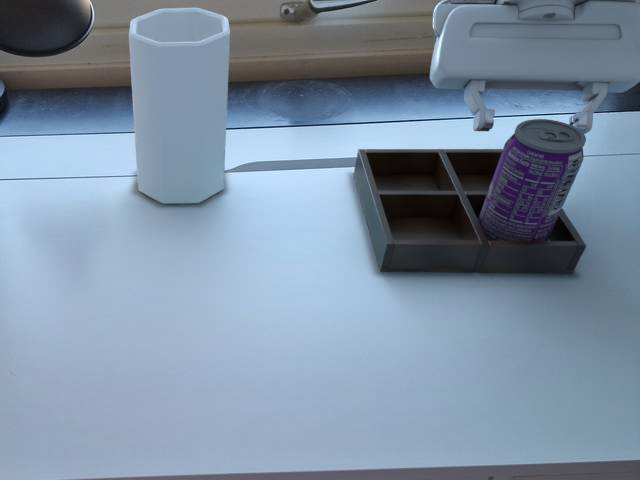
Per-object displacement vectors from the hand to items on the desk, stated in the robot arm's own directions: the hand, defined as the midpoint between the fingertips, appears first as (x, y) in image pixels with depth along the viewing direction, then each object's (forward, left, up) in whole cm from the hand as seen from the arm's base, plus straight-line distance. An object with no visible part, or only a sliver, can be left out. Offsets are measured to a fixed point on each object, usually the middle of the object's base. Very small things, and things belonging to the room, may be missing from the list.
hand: (531, 131), depth 70 cm
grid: (+5, 0, -11) cm, 12 cm away
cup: (+36, -8, -11) cm, 38 cm away
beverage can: (+1, +5, -10) cm, 11 cm away
